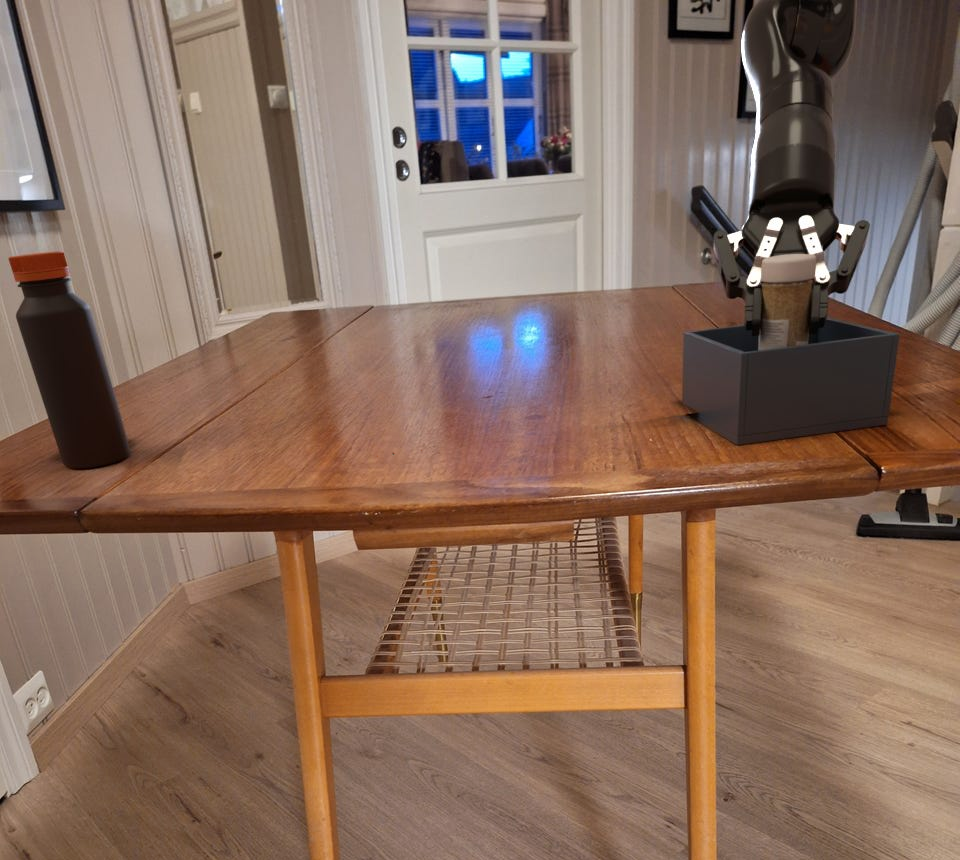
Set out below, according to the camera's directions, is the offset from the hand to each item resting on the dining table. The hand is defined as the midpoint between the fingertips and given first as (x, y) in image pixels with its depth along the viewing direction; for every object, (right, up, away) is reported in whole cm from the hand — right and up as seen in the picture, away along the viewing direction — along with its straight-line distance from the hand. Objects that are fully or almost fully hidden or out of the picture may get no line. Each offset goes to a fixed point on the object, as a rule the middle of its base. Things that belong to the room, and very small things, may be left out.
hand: (785, 329), depth 77 cm
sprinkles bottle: (+1, -6, +5) cm, 8 cm away
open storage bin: (+1, -7, +5) cm, 9 cm away
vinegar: (-67, -9, +14) cm, 70 cm away
